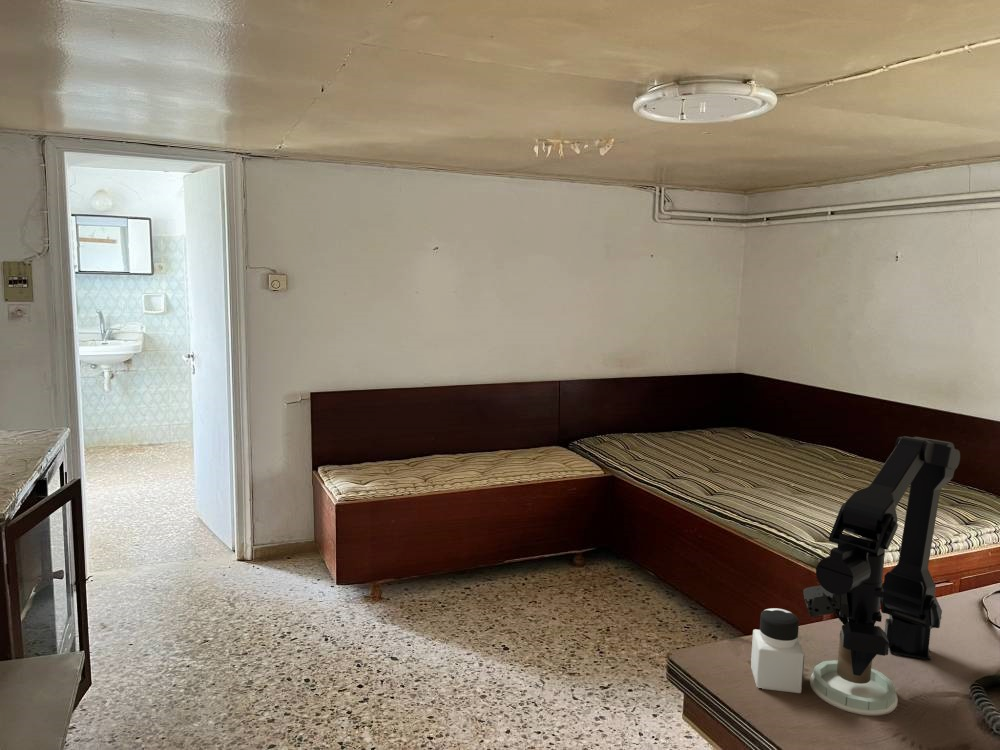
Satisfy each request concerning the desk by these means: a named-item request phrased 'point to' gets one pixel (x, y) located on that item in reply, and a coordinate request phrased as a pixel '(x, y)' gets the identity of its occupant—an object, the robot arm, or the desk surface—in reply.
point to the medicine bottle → (777, 652)
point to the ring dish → (854, 691)
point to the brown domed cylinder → (850, 667)
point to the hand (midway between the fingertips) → (854, 666)
